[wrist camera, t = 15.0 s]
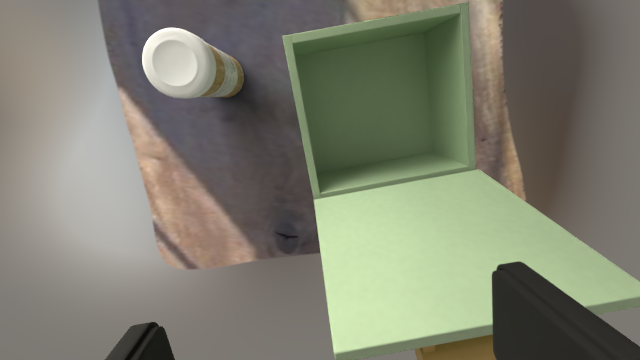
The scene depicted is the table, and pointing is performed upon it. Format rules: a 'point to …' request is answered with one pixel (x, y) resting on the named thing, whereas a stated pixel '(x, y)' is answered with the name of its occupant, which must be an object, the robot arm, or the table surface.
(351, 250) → the lid
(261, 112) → the table surface
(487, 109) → the table surface
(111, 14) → the table surface
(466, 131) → the bread box
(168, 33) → the sprinkles bottle
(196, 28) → the table surface
